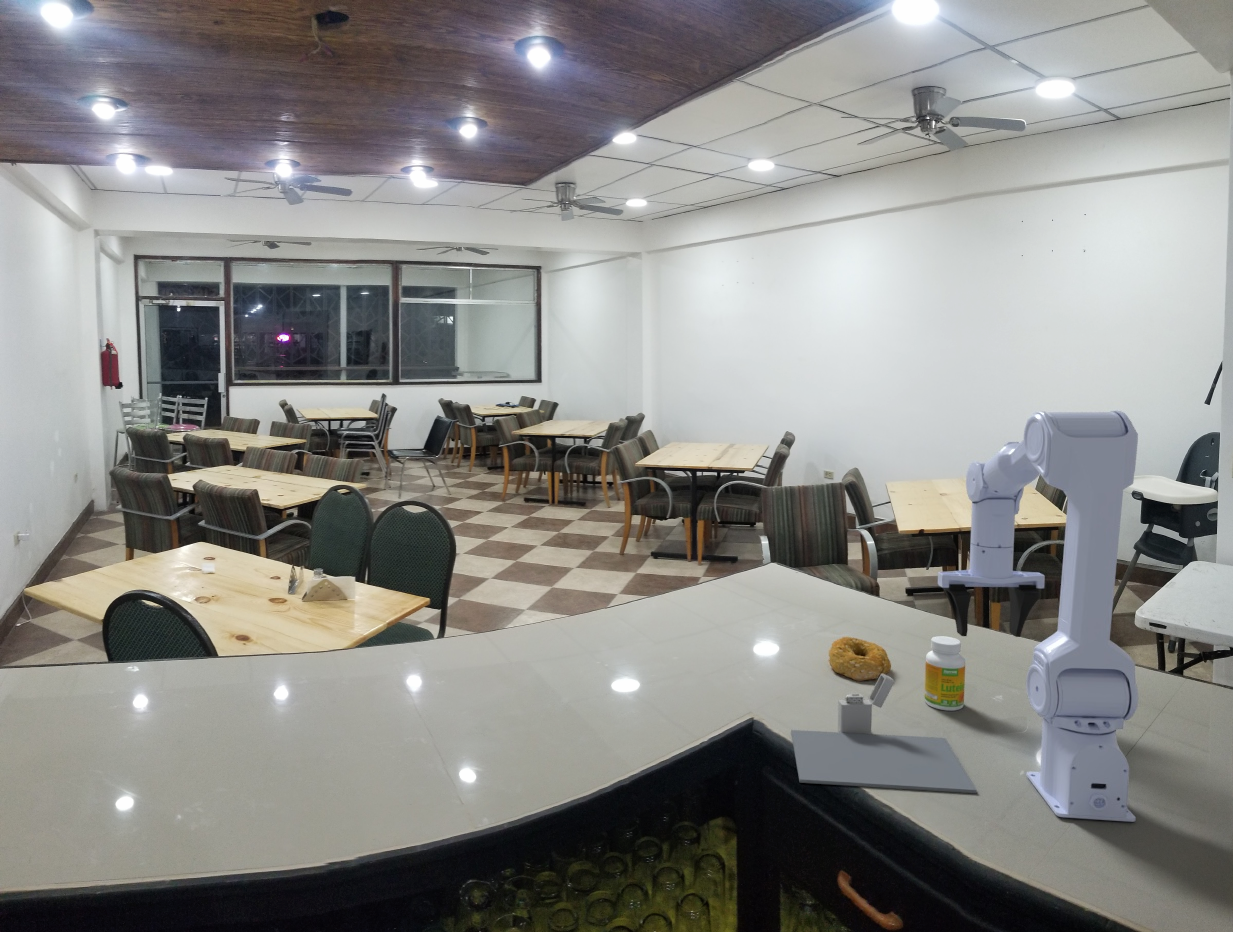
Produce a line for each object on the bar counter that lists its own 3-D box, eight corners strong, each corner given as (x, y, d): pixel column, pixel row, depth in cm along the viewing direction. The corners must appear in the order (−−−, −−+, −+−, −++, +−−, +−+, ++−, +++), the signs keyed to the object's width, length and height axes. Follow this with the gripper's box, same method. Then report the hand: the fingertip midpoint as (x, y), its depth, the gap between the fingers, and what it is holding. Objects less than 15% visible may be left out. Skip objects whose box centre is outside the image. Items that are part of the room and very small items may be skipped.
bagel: (829, 680, 126) (830, 651, 125) (827, 657, 136) (828, 631, 136) (894, 686, 123) (895, 656, 123) (887, 662, 134) (888, 635, 134)
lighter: (841, 735, 106) (842, 678, 105) (837, 729, 108) (838, 673, 107) (893, 734, 106) (895, 677, 105) (888, 728, 108) (890, 672, 107)
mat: (976, 793, 91) (976, 789, 91) (799, 782, 94) (799, 779, 93) (945, 740, 104) (945, 737, 104) (791, 732, 107) (791, 729, 107)
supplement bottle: (940, 713, 112) (942, 647, 111) (916, 699, 118) (918, 636, 117) (972, 708, 114) (974, 644, 113) (947, 694, 119) (949, 632, 118)
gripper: (1030, 538, 118) (1026, 626, 120) (932, 538, 119) (929, 625, 121) (1053, 548, 111) (1048, 641, 113) (948, 548, 112) (945, 640, 114)
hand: (988, 634), depth 116 cm, fingers open, 7 cm apart
